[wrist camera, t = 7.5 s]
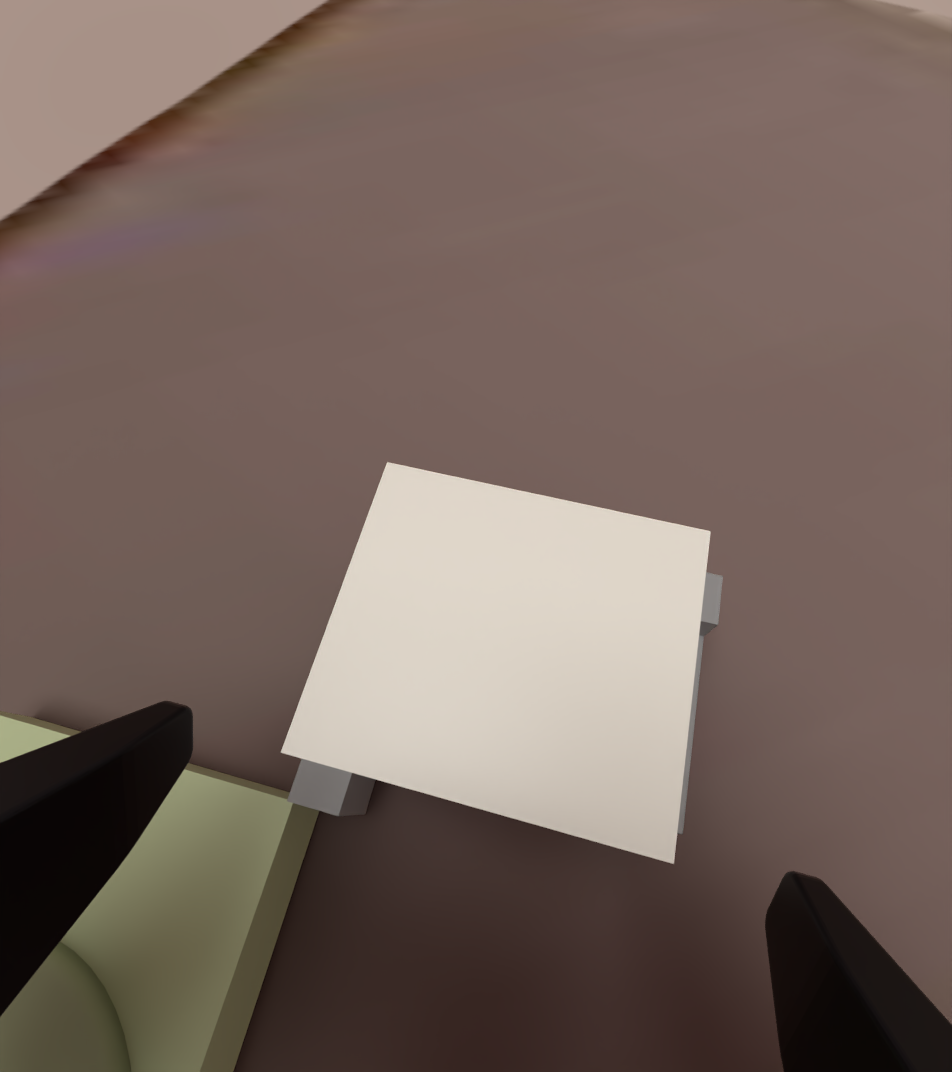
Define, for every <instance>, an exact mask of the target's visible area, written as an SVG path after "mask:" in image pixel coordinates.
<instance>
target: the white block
mask: <svg viewBox="0 0 952 1072" xmlns="http://www.w3.org/2000/svg"><path fill="white" fill-rule="evenodd" d="M710 532H711V531H706V530H702V529H697V528H692V527H688V526H683V525H678V524H674V523H669V522H664V521H660V520H655V519H650V518H646V517H641V516H636V515H632V514H627V513H622V512H618V511H613V510H608V509H604V508H599V507H594V506H590V505H585V504H580V503H575V502H571V501H566V500H561V499H557V498H552V497H547V496H543V495H538V494H533V493H529V492H524V491H519V490H515V489H510V488H505V487H501V486H496V485H491V484H487V483H482V482H477V481H473V480H468V479H463V478H459V477H454V476H449V475H444V474H440V473H435V472H430V471H426V470H421V469H416V468H412V467H407V466H402V465H398V464H393V463H388V462H387V464H386V467H385V470H384V473H383V475H382V478H381V481H380V483H379V486H378V489H377V492H376V494H375V497H374V500H373V503H372V505H371V508H370V511H369V513H368V516H367V519H366V522H365V524H364V527H363V530H362V533H361V535H360V538H359V541H358V543H357V546H356V549H355V552H354V554H353V557H352V560H351V562H350V565H349V568H348V571H347V573H346V576H345V579H344V582H343V584H342V587H341V590H340V592H339V595H338V598H337V601H336V603H335V606H334V609H333V612H332V614H331V617H330V620H329V622H328V625H327V628H326V631H325V633H324V636H323V639H322V642H321V644H320V647H319V650H318V652H317V655H316V658H315V661H314V663H313V666H312V669H311V671H310V674H309V677H308V680H307V682H306V685H305V688H304V691H303V693H302V696H301V699H300V701H299V704H298V707H297V710H296V712H295V715H294V718H293V721H292V723H291V726H290V729H289V731H288V734H287V737H286V740H285V742H284V745H283V748H282V750H281V753H284V754H288V755H291V756H295V757H298V758H302V759H305V760H309V761H312V762H316V763H319V764H323V765H327V766H330V767H334V768H337V769H341V770H344V771H348V772H351V773H355V774H358V775H362V776H365V777H369V778H372V779H376V780H379V781H383V782H386V783H390V784H394V785H397V786H401V787H404V788H408V789H411V790H415V791H418V792H422V793H425V794H429V795H432V796H436V797H439V798H443V799H446V800H450V801H453V802H457V803H460V804H464V805H468V806H471V807H475V808H478V809H482V810H485V811H489V812H492V813H496V814H499V815H503V816H506V817H510V818H513V819H517V820H520V821H524V822H527V823H531V824H535V825H538V826H542V827H545V828H549V829H552V830H556V831H559V832H563V833H566V834H570V835H573V836H577V837H580V838H584V839H587V840H591V841H594V842H598V843H602V844H605V845H609V846H612V847H616V848H619V849H623V850H626V851H630V852H633V853H637V854H640V855H644V856H647V857H651V858H654V859H658V860H661V861H665V862H669V863H672V864H674V858H675V849H676V840H677V831H678V822H679V813H680V803H681V794H682V785H683V776H684V767H685V758H686V749H687V740H688V731H689V722H690V713H691V704H692V695H693V686H694V677H695V668H696V658H697V649H698V640H699V631H700V622H701V613H702V604H703V595H704V586H705V577H706V568H707V559H708V550H709V541H710Z"/></svg>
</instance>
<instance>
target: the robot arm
mask: <svg viewBox="0 0 952 1072" xmlns="http://www.w3.org/2000/svg"><path fill="white" fill-rule="evenodd" d="M192 751H193V714H192V711H191V709H190V708H189V707H188V706H185V705H182V704H178V703H174V702H171V701H163V702H159V703H157V704H154V705H151V706H149V707H146V708H144V709H141V710H138V711H136V712H133V713H130V714H128V715H125V716H122V717H120V718H117V719H114V720H112V721H109V722H107V723H104V724H101V725H99V726H96V727H93V728H91V729H88V730H85V731H83V732H80V733H78V734H75V735H72V736H70V737H67V738H64V739H62V740H59V741H56V742H54V743H51V744H48V745H46V746H43V747H41V748H38V749H35V750H33V751H30V752H27V753H25V754H22V755H19V756H17V757H14V758H11V759H9V760H6V761H4V762H1V763H0V1017H1V1016H2V1014H3V1013H4V1012H5V1011H6V1009H7V1008H8V1007H9V1005H10V1004H11V1003H12V1002H13V1000H14V999H15V998H16V997H17V995H18V994H19V993H20V992H21V990H22V989H23V988H24V986H25V985H26V984H27V983H28V981H29V980H30V979H31V978H32V976H33V975H34V974H35V973H36V971H37V970H38V969H39V968H40V966H41V965H42V964H43V962H44V961H45V960H46V959H47V957H48V956H49V955H50V954H51V952H52V951H53V950H54V949H55V947H56V946H57V945H58V944H59V942H60V941H61V940H62V938H63V937H64V936H65V935H66V933H67V932H68V931H69V930H70V928H71V927H72V926H73V925H74V923H75V922H76V921H77V920H78V918H79V917H80V916H81V914H82V913H83V912H84V911H85V909H86V908H87V907H88V906H89V904H90V903H91V902H92V901H93V899H94V898H95V897H96V896H97V894H98V893H99V892H100V890H101V889H102V888H103V887H104V885H105V884H106V883H107V882H108V880H109V879H110V878H111V877H112V875H113V874H114V873H115V871H116V870H117V869H118V868H119V866H120V865H121V864H122V862H123V861H124V860H125V858H126V857H127V856H128V854H129V853H130V851H131V850H132V849H133V847H134V846H135V844H136V843H137V841H138V840H139V838H140V837H141V835H142V834H143V832H144V831H145V829H146V828H147V826H148V825H149V823H150V821H151V820H152V818H153V817H154V815H155V814H156V812H157V811H158V809H159V808H160V806H161V805H162V803H163V801H164V800H165V798H166V797H167V795H168V794H169V792H170V791H171V789H172V788H173V786H174V784H175V783H176V781H177V780H178V778H179V777H180V775H181V774H182V772H183V771H184V769H185V768H186V766H187V764H188V762H189V760H190V758H191V755H192ZM765 930H766V939H767V947H768V956H769V964H770V972H771V981H772V989H773V998H774V1006H775V1015H776V1023H777V1032H778V1039H779V1046H780V1053H781V1059H782V1064H783V1069H784V1072H952V1025H951V1023H950V1022H949V1021H948V1020H947V1019H946V1018H945V1017H944V1016H943V1014H942V1013H941V1012H940V1011H939V1010H938V1009H937V1008H936V1007H935V1006H934V1004H933V1003H932V1002H931V1001H930V1000H929V999H928V998H927V997H926V995H925V994H924V993H923V992H922V991H921V990H920V989H919V988H918V987H917V985H916V984H915V983H914V982H913V981H912V980H911V979H910V978H909V976H908V975H907V974H906V973H905V972H904V971H903V970H902V969H901V967H900V966H899V965H898V964H897V963H896V962H895V961H894V960H893V959H892V957H891V956H890V955H889V954H888V953H887V952H886V951H885V950H884V948H883V947H882V946H881V945H880V944H879V943H878V942H877V941H876V940H875V938H874V937H873V936H872V935H871V934H870V933H869V932H868V931H867V929H866V928H865V927H864V926H863V925H862V924H861V923H860V922H859V920H858V919H857V918H856V917H855V916H854V915H853V914H852V913H851V912H850V910H849V909H848V908H847V907H846V906H845V905H844V904H843V903H842V901H841V900H840V899H839V898H838V897H837V896H836V895H835V894H834V893H833V891H832V890H831V889H830V888H829V887H828V886H827V885H826V884H825V883H824V882H823V881H822V880H821V879H819V878H817V877H814V876H810V875H806V874H803V873H799V872H795V871H789V872H787V873H786V874H785V875H784V877H783V879H782V881H781V883H780V885H779V887H778V889H777V891H776V893H775V895H774V897H773V899H772V902H771V904H770V906H769V908H768V910H767V914H766V920H765Z"/></svg>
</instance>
